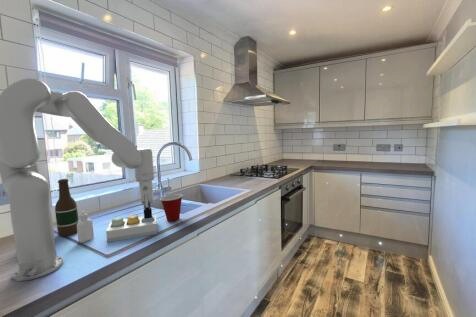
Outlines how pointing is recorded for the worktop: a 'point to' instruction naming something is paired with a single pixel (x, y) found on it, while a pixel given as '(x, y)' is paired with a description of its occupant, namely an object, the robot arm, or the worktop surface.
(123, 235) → the white slotted frame
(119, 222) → the button sage
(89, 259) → the worktop surface
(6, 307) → the worktop surface
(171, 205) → the plastic cup
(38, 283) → the worktop surface
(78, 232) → the eye dropper bottle
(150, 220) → the button slate
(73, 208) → the beer bottle
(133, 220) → the button amber
